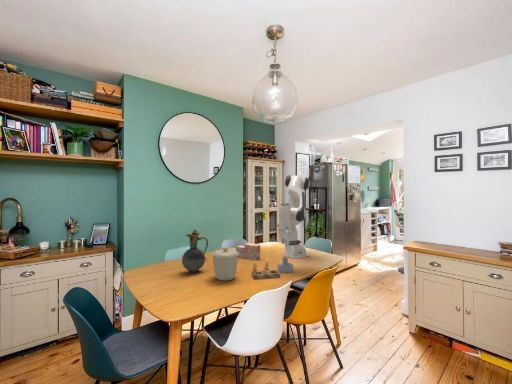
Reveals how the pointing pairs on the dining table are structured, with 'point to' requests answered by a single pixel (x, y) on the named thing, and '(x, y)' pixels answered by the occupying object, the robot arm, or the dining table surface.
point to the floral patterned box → (249, 251)
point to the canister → (225, 263)
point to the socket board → (265, 274)
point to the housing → (284, 266)
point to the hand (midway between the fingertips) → (285, 245)
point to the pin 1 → (254, 265)
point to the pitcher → (194, 254)
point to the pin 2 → (266, 264)
